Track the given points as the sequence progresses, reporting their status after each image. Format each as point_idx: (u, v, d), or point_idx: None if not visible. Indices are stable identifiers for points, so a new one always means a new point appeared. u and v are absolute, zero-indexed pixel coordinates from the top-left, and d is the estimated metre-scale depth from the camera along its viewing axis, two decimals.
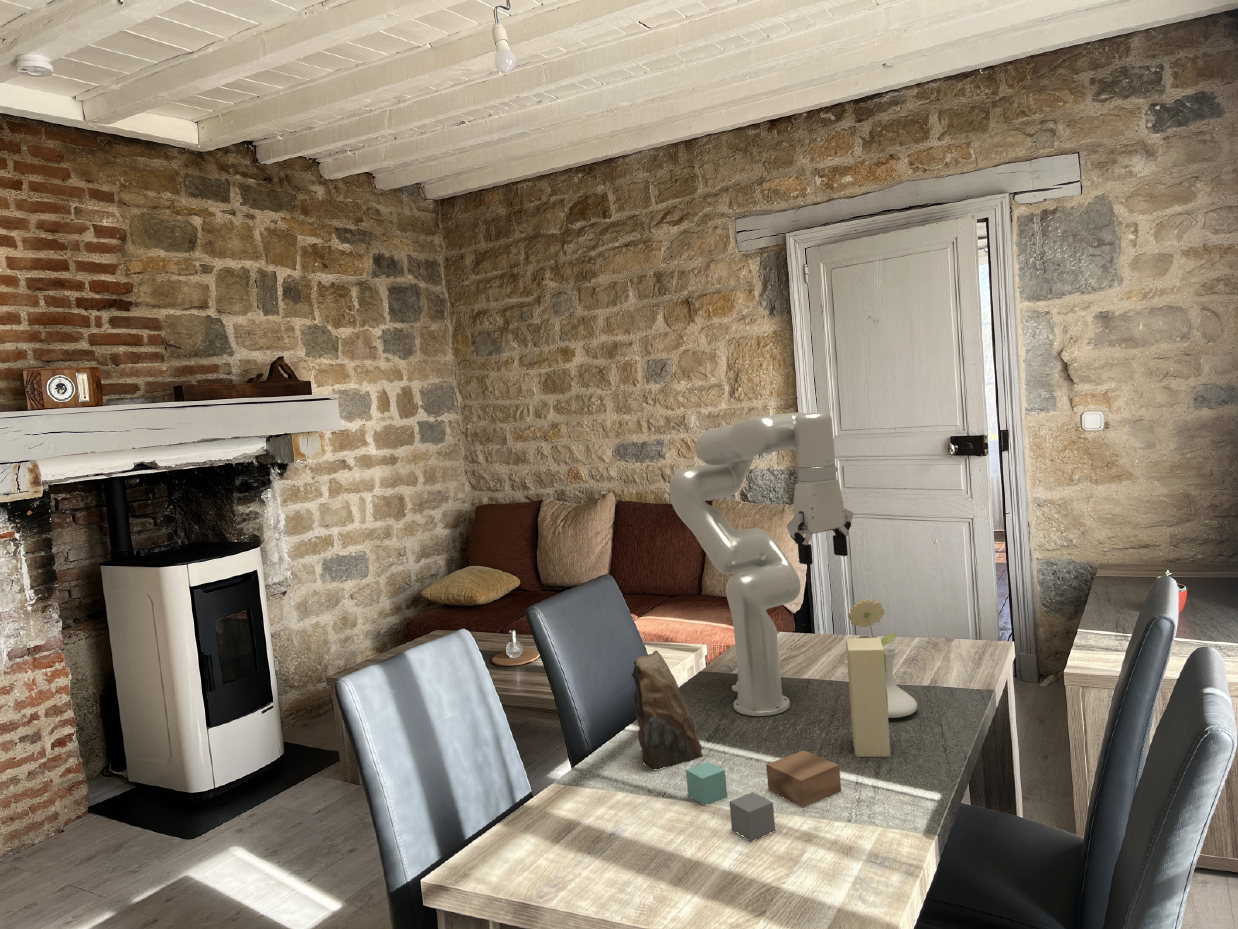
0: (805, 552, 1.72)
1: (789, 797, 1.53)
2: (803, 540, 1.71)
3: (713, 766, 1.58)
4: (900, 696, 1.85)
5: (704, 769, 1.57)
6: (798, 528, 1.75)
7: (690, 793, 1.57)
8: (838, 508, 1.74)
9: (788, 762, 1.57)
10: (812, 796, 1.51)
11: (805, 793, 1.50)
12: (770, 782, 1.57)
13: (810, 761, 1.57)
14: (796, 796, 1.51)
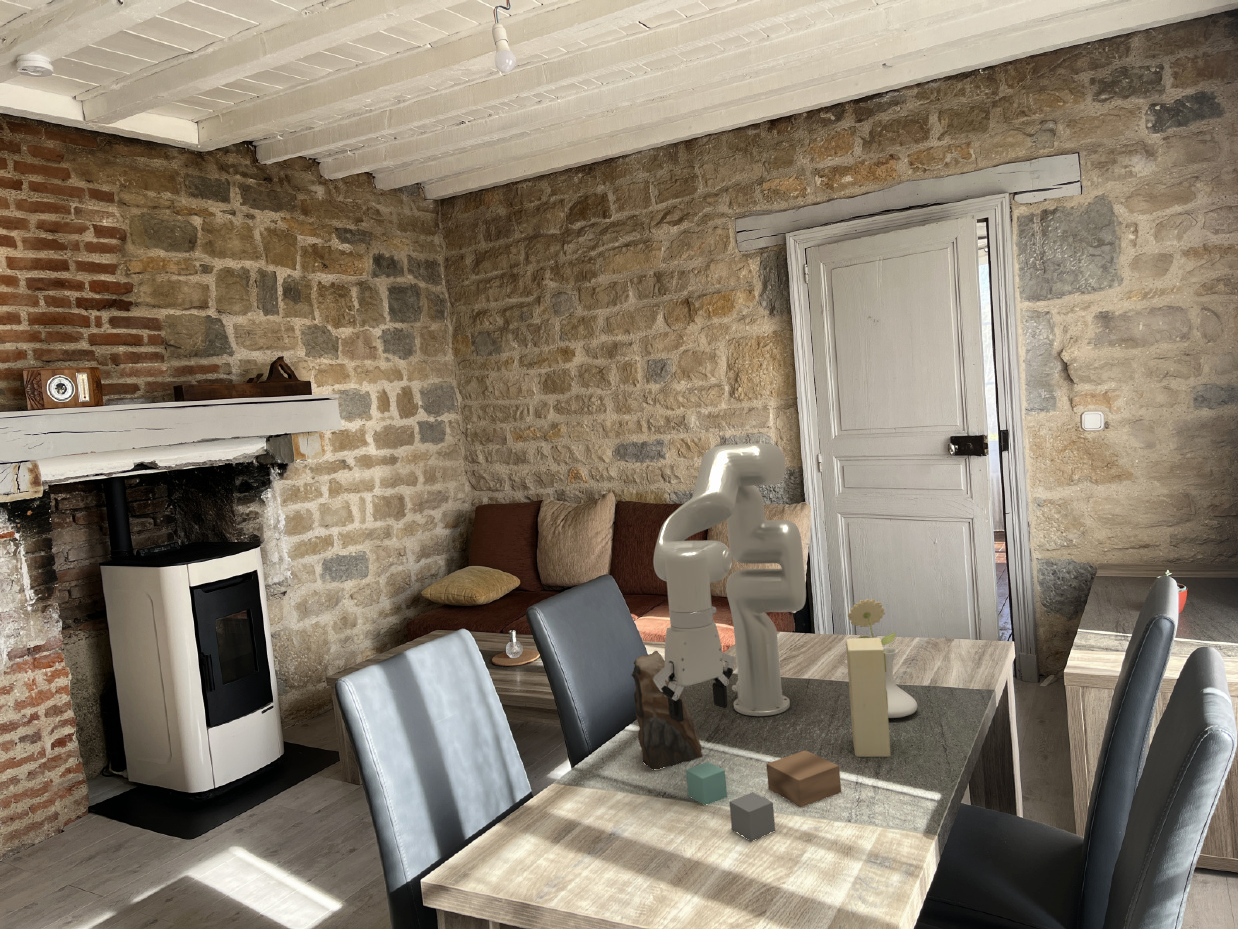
0: (675, 708, 1.52)
1: (788, 797, 1.53)
2: (672, 695, 1.51)
3: (713, 766, 1.58)
4: (900, 696, 1.85)
5: (704, 769, 1.57)
6: (671, 677, 1.56)
7: (690, 793, 1.57)
8: (715, 656, 1.55)
9: (789, 762, 1.57)
10: (810, 796, 1.51)
11: (803, 793, 1.50)
12: (770, 781, 1.57)
13: (811, 761, 1.57)
14: (794, 796, 1.51)
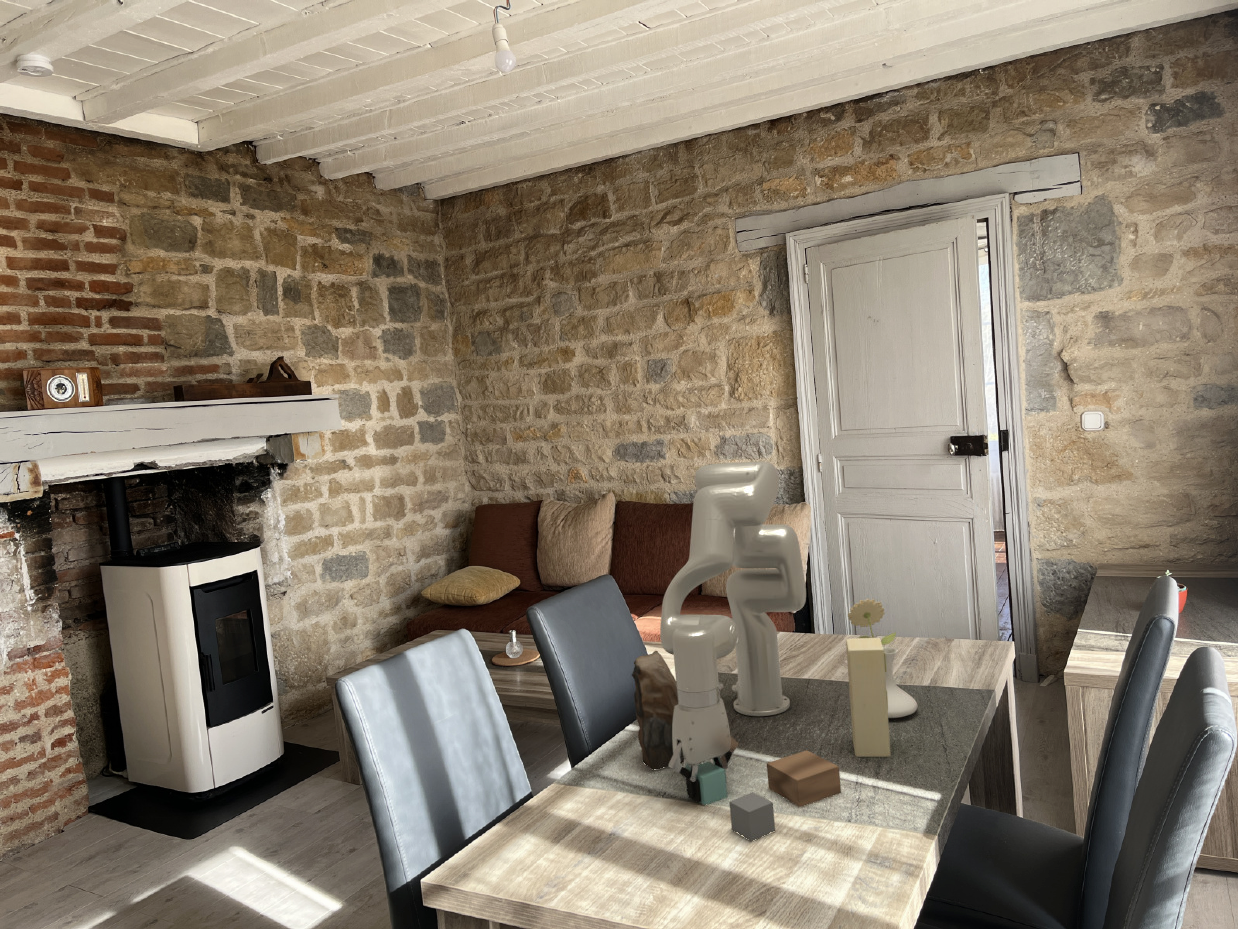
0: (693, 788, 1.54)
1: (787, 796, 1.53)
2: (690, 777, 1.54)
3: (713, 765, 1.58)
4: (900, 696, 1.85)
5: (704, 768, 1.57)
6: None
7: None
8: (722, 733, 1.56)
9: (789, 762, 1.57)
10: (809, 796, 1.51)
11: (802, 793, 1.50)
12: (770, 781, 1.57)
13: (811, 761, 1.57)
14: (793, 796, 1.51)
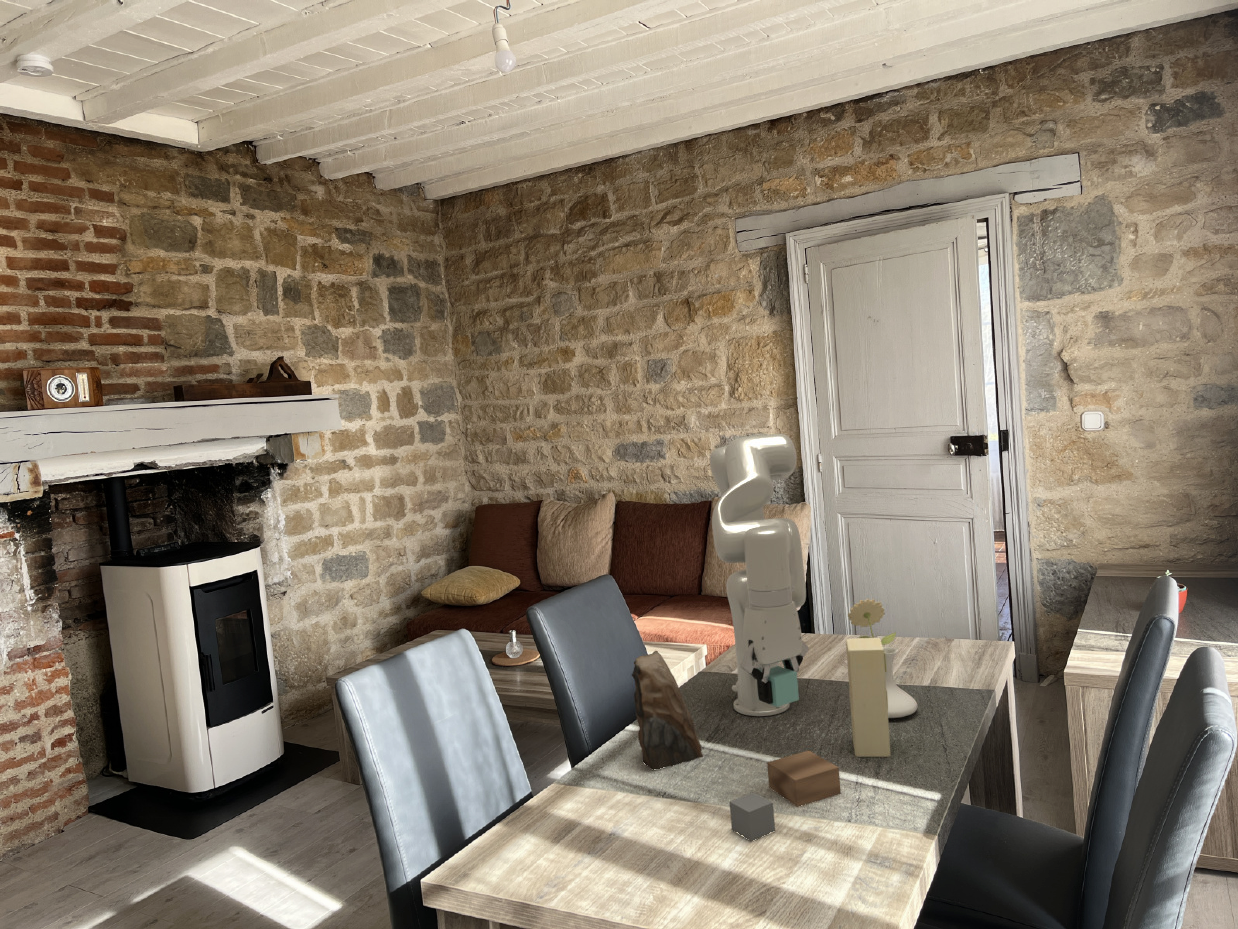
0: (764, 690, 1.52)
1: (786, 796, 1.53)
2: (762, 678, 1.52)
3: (784, 669, 1.56)
4: (900, 696, 1.85)
5: (775, 671, 1.55)
6: None
7: None
8: (794, 635, 1.54)
9: (789, 762, 1.57)
10: (807, 796, 1.51)
11: (800, 793, 1.50)
12: (770, 780, 1.57)
13: (811, 761, 1.56)
14: (791, 795, 1.51)
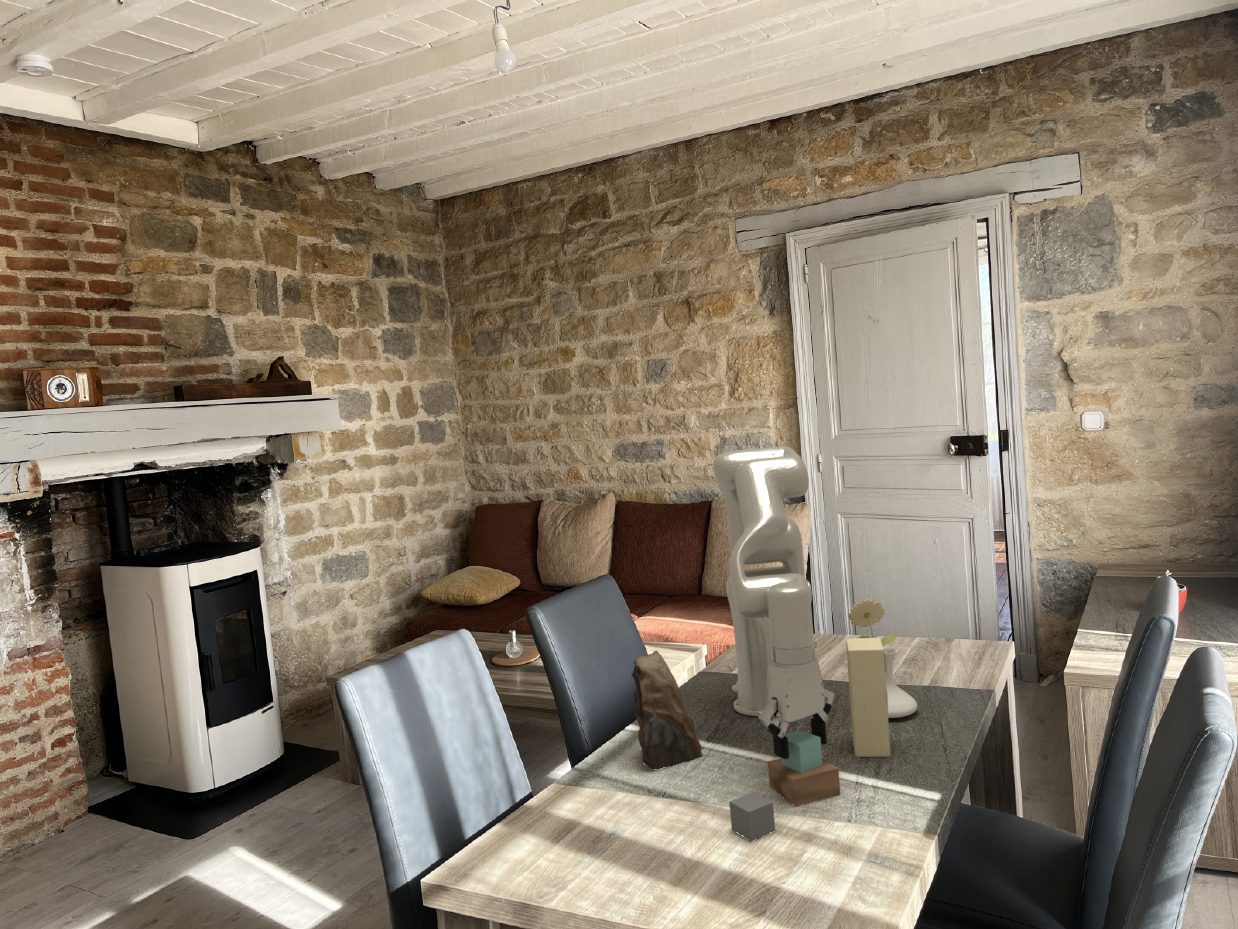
0: (781, 745, 1.52)
1: (785, 795, 1.53)
2: (778, 733, 1.51)
3: (807, 734, 1.56)
4: (900, 696, 1.85)
5: (798, 736, 1.56)
6: None
7: (784, 761, 1.56)
8: (817, 691, 1.54)
9: None
10: (806, 796, 1.51)
11: (798, 793, 1.50)
12: (771, 779, 1.58)
13: None
14: (790, 795, 1.51)
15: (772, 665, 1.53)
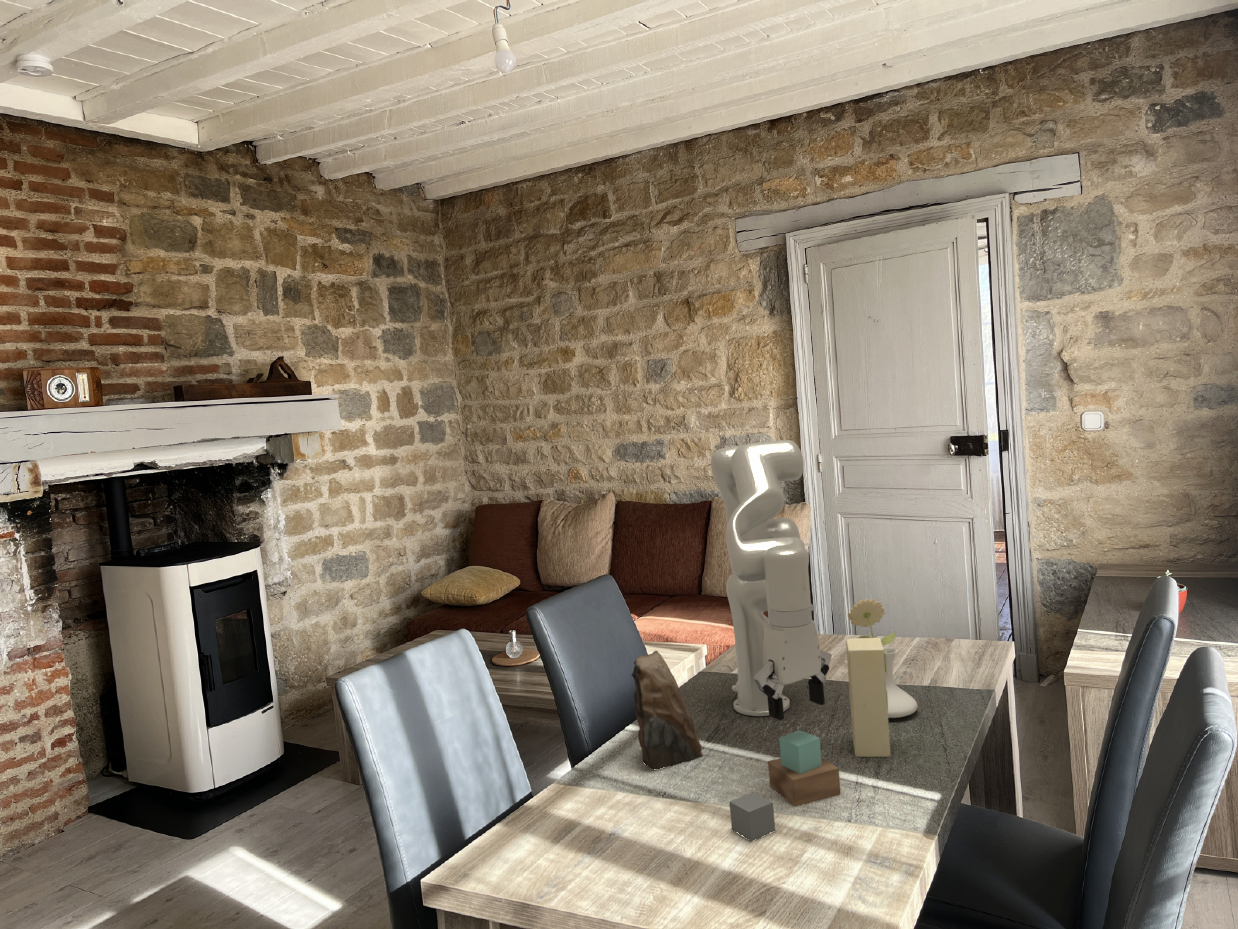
0: (775, 706, 1.52)
1: (785, 795, 1.53)
2: (773, 693, 1.51)
3: (807, 734, 1.56)
4: (900, 696, 1.85)
5: (797, 737, 1.55)
6: (768, 675, 1.55)
7: (784, 761, 1.55)
8: (814, 654, 1.54)
9: None
10: (806, 796, 1.51)
11: (798, 793, 1.50)
12: (771, 779, 1.58)
13: None
14: (790, 795, 1.52)
15: (769, 628, 1.53)
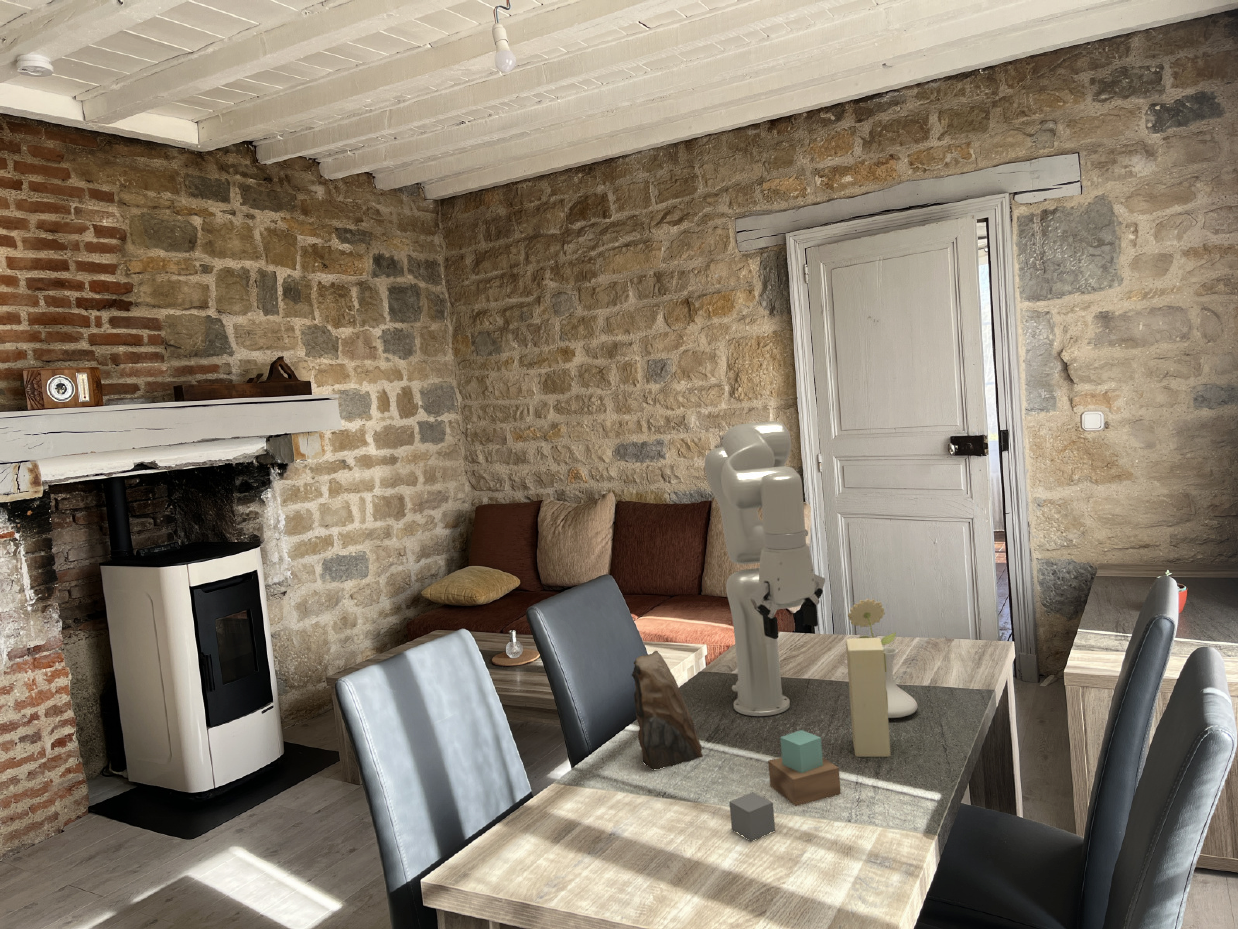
0: (770, 625, 1.58)
1: (785, 795, 1.54)
2: (768, 613, 1.57)
3: (808, 734, 1.56)
4: (900, 696, 1.85)
5: (799, 736, 1.56)
6: (764, 597, 1.62)
7: (785, 761, 1.56)
8: (808, 576, 1.60)
9: None
10: (806, 796, 1.51)
11: (798, 792, 1.51)
12: (771, 778, 1.58)
13: None
14: (790, 794, 1.52)
15: (764, 551, 1.59)
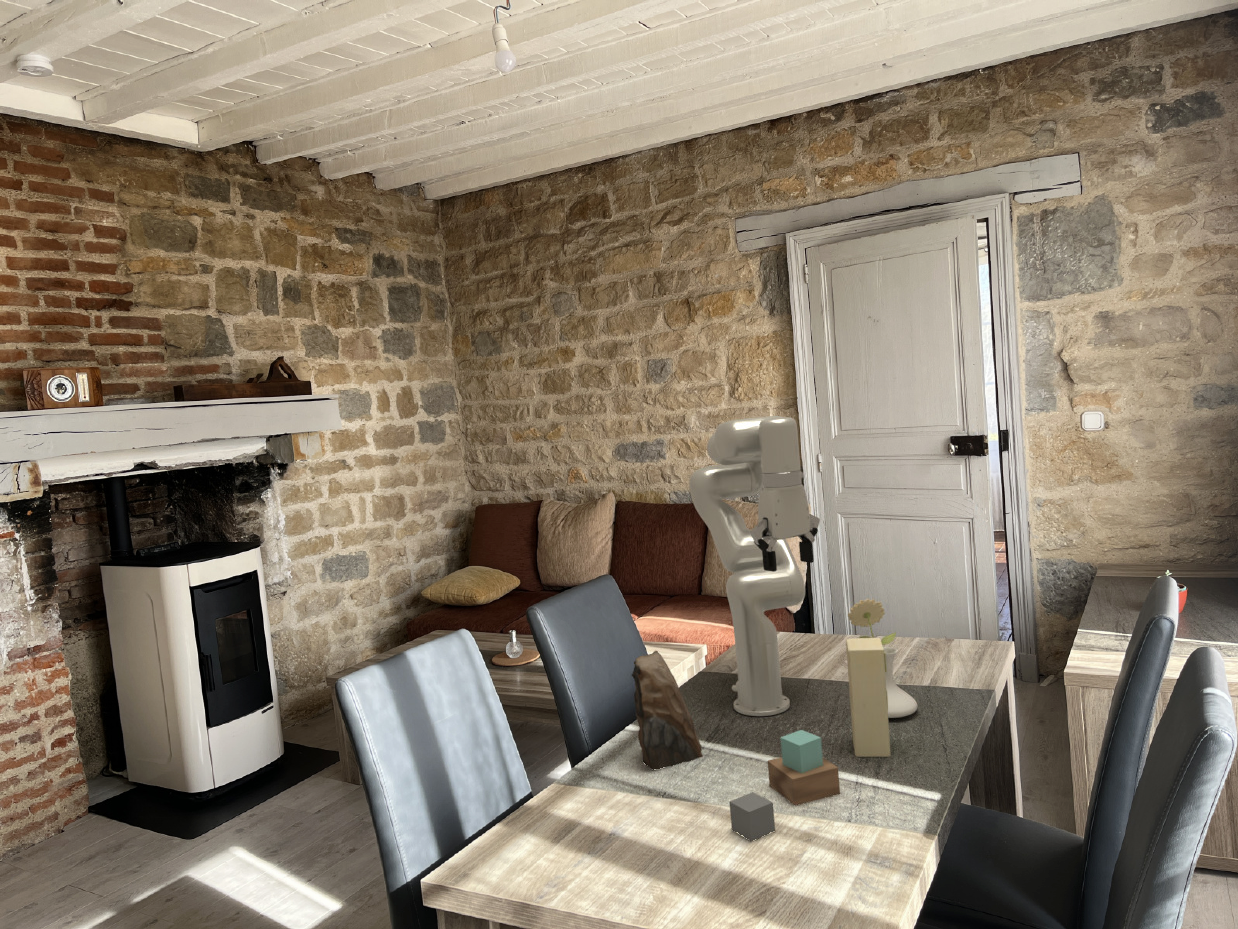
0: (769, 559, 1.70)
1: (785, 795, 1.54)
2: (767, 547, 1.69)
3: (808, 734, 1.56)
4: (900, 696, 1.85)
5: (799, 736, 1.56)
6: (763, 534, 1.73)
7: (785, 761, 1.56)
8: (803, 514, 1.72)
9: None
10: (805, 796, 1.51)
11: (797, 792, 1.51)
12: (771, 778, 1.58)
13: None
14: (789, 794, 1.52)
15: (763, 490, 1.71)
